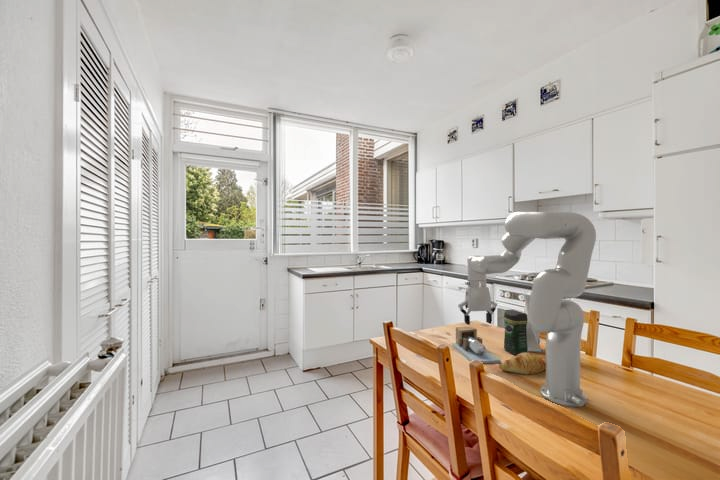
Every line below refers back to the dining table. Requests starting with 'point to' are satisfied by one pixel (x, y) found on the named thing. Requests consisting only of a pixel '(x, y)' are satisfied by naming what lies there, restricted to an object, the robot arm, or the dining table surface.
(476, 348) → the tube
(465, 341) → the guide
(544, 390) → the robot arm
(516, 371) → the croissant
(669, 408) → the dining table surface
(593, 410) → the dining table surface
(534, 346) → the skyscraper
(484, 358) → the board
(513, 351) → the coffee jar
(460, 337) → the socket
